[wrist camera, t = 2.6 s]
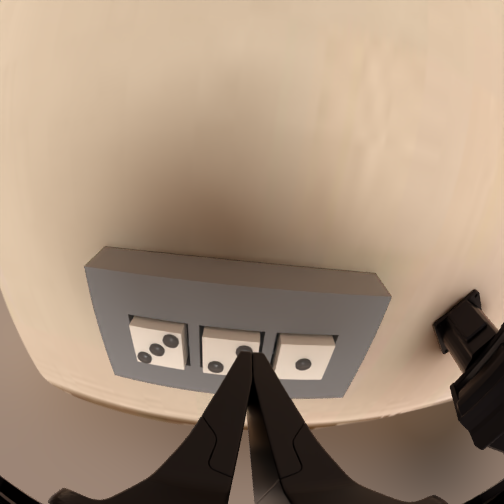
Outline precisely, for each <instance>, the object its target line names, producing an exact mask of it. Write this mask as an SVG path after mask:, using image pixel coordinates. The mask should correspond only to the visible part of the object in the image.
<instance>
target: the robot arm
mask: <svg viewBox="0 0 504 504" xmlns="http://www.w3.org/2000/svg"><path fill="white" fill-rule="evenodd" d="M433 328H434V331H435V334H436V336H437V339H438V342H439V345H440V348H441V351H442V353H443V354H446V353H447V352H450V354H451V355H452V357H453V358H454V360H455V362H456V363H457V365H458V366H459V368H460V370H461V371H462V373H463V374H462V375H461V376H460V377H459V378H458V379H457V380H456V381H455V383H453V384H452V385H451V386H450V390H451V394H452V398H453V401H454V405H455V409H456V412H457V417H458V420H459V421H460V423H461V424H462V425H463V426H464V427H465V428H466V429H467V430H468V431H469V432H470V435H471V437H472V440H473V442H474V445H475V446H476V447H478V448H479V449H481V450H484V449H485V448H486V447H489V448H492V449H494V450H498V451H500V452H503V453H504V323H503V324H502V325H501V328H500V329H499V330H498V329H497V328H496V327H495V326H494V324H493V323H492V322H491V321H490V320H489V319H488V317H487V316H486V315H485V314H484V313H483V312H482V309H481V302H480V295H479V292H478V291H477V290H474V291H473V292H472V293H471V294H469V295H468V296H467V297H466V298H465V299H464V300H463V301H461V302H460V303H459V304H458V305H457V306H455V307H454V308H453V309H452V310H450V311H449V312H448V313H447V314H445V315H444V316H443V317H442V318H440V319H439V320H438V321H436V322H435V323H434V325H433ZM246 412H247V422H248V434H249V445H250V458H251V469H252V480H253V491H254V501H255V504H448V503H447V502H446V501H445V500H443V499H441V498H440V497H438V496H436V495H432V496H429V497H426V498H424V499H422V500H419V501H416V502H404V501H400V500H397V499H394V498H391V497H388V496H386V495H383V494H381V493H378V492H376V491H373V490H371V489H368V488H366V487H364V486H362V485H360V484H358V483H356V482H355V481H353V480H352V479H351V478H350V477H349V476H348V475H347V474H346V473H345V472H344V471H343V470H342V469H341V468H340V467H339V465H338V464H337V463H336V462H335V461H334V460H333V459H332V458H331V456H330V455H329V454H328V453H327V452H326V451H325V449H324V448H323V447H322V446H321V444H320V443H319V442H318V441H317V439H316V438H315V437H314V435H313V433H312V432H311V430H310V429H309V427H308V426H307V424H306V423H305V421H304V419H303V418H302V416H301V414H300V413H299V411H298V410H297V408H296V406H295V405H294V403H293V401H292V400H291V398H290V397H289V395H288V393H287V392H286V390H285V388H284V387H283V385H282V383H281V382H280V380H279V378H278V376H277V375H276V373H275V371H274V370H273V368H272V366H271V365H270V363H269V361H268V359H267V358H266V356H265V354H264V353H260V352H253V353H251V352H249V351H240V352H239V354H238V356H237V358H236V359H235V361H234V363H233V364H232V366H231V368H230V370H229V371H228V373H227V375H226V376H225V378H224V380H223V381H222V383H221V385H220V386H219V388H218V390H217V391H216V393H215V395H214V396H213V398H212V400H211V401H210V403H209V404H208V406H207V408H206V409H205V411H204V413H203V414H202V417H200V419H199V420H198V422H197V424H196V425H195V427H194V428H193V429H192V431H191V433H190V434H189V435H188V436H187V438H186V439H185V440H184V441H183V443H182V444H181V445H180V446H179V447H178V448H177V449H176V450H175V452H174V453H173V454H172V455H171V456H170V457H169V458H168V459H167V460H166V461H165V462H164V463H163V464H162V466H160V467H159V468H158V470H156V471H155V472H154V473H153V474H152V475H151V476H149V477H148V478H147V479H145V480H143V481H141V482H140V483H138V484H136V485H134V486H132V487H131V488H128V489H126V490H124V491H122V492H120V493H118V494H116V495H114V496H112V497H110V498H107V499H103V500H95V499H91V498H88V497H85V496H83V495H81V494H78V493H76V492H74V491H72V490H69V489H66V488H62V489H61V490H59V491H58V492H57V493H55V494H54V495H53V496H51V498H50V499H49V500H48V503H50V504H228V500H229V495H230V490H231V485H232V480H233V476H234V471H235V466H236V461H237V457H238V451H239V447H240V441H241V437H242V432H243V427H244V422H245V417H246ZM0 504H42V503H40V502H39V501H37V500H35V499H33V498H32V497H31V496H29V495H27V494H26V493H24V492H23V491H21V490H20V489H19V488H17V487H15V486H14V485H13V484H11V483H10V482H8V481H7V480H6V479H4V478H3V477H2V476H0ZM463 504H504V479H502V480H501V481H500V482H498V483H497V484H495V485H494V486H492V487H490V488H489V489H487V490H486V491H484V492H482V493H481V494H479V495H477V496H475V497H474V498H472V499H470V500H468V501H466V502H464V503H463Z"/></svg>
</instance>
